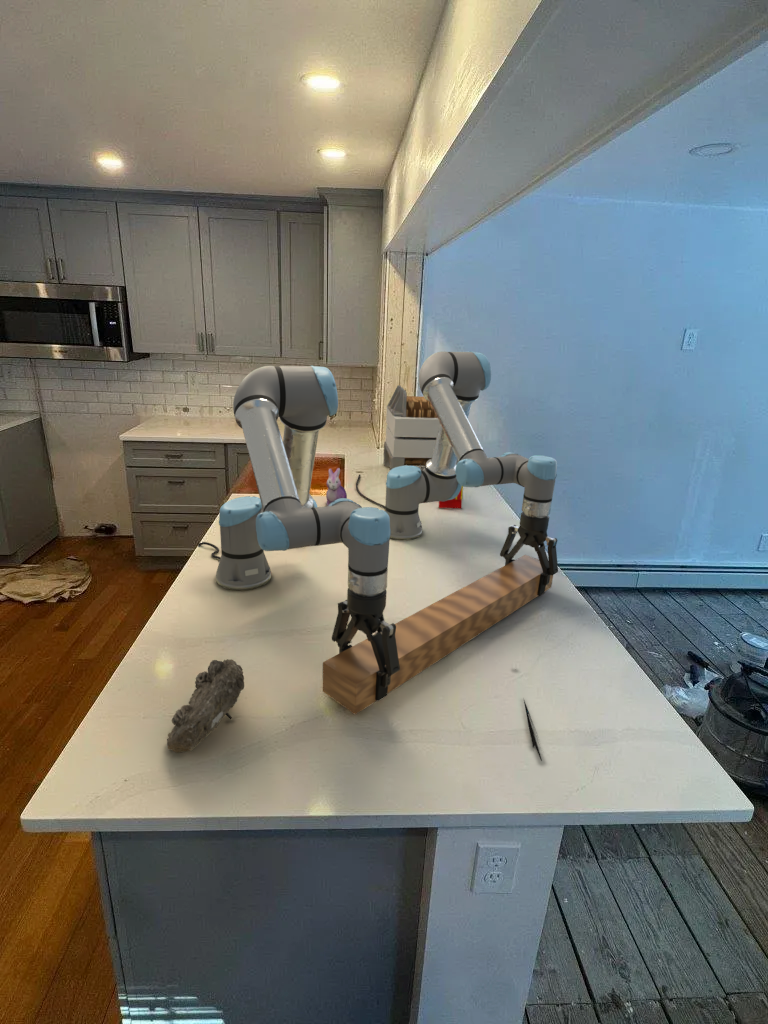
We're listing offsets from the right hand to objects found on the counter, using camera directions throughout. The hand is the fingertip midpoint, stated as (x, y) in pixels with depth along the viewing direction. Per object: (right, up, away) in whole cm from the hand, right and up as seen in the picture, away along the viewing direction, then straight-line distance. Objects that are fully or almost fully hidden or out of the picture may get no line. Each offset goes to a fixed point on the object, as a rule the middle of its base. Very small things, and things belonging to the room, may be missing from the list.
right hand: (524, 587), depth 161 cm
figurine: (-59, +24, +65) cm, 91 cm away
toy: (-14, +27, +80) cm, 85 cm away
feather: (-11, -19, -47) cm, 52 cm away
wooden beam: (-22, -8, -22) cm, 32 cm away
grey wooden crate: (-23, +40, +114) cm, 123 cm away
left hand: (-44, -14, -45) cm, 64 cm away
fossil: (-73, -18, -53) cm, 91 cm away
